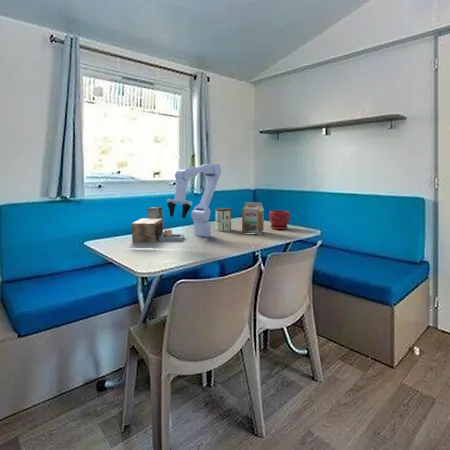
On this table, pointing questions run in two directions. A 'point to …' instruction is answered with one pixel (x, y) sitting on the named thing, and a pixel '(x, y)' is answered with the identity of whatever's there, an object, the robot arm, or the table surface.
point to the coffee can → (223, 219)
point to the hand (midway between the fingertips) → (177, 217)
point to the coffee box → (155, 213)
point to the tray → (174, 237)
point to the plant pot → (279, 219)
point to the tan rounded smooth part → (167, 233)
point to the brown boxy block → (147, 230)
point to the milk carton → (252, 218)
